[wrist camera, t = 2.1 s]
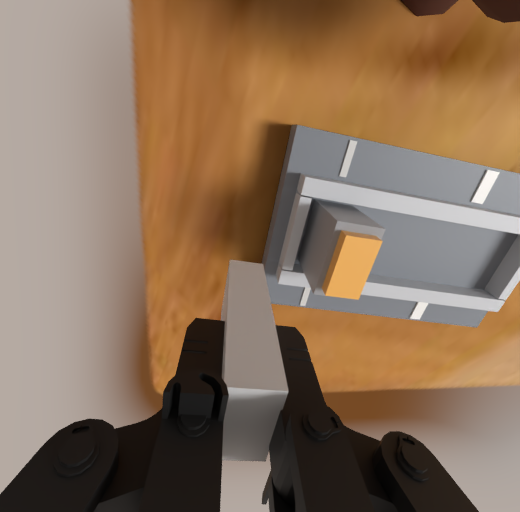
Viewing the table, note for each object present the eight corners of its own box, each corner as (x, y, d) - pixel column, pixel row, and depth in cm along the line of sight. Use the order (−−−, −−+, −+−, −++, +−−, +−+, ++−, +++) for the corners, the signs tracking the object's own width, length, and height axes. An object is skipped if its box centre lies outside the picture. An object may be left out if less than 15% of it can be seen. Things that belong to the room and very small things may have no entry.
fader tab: (314, 199, 20) (342, 225, 15) (352, 205, 20) (392, 233, 15) (298, 259, 22) (316, 301, 17) (332, 264, 22) (361, 307, 17)
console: (291, 124, 19) (302, 124, 16) (545, 180, 23) (594, 189, 20) (256, 289, 25) (258, 312, 22) (461, 314, 29) (489, 338, 25)
